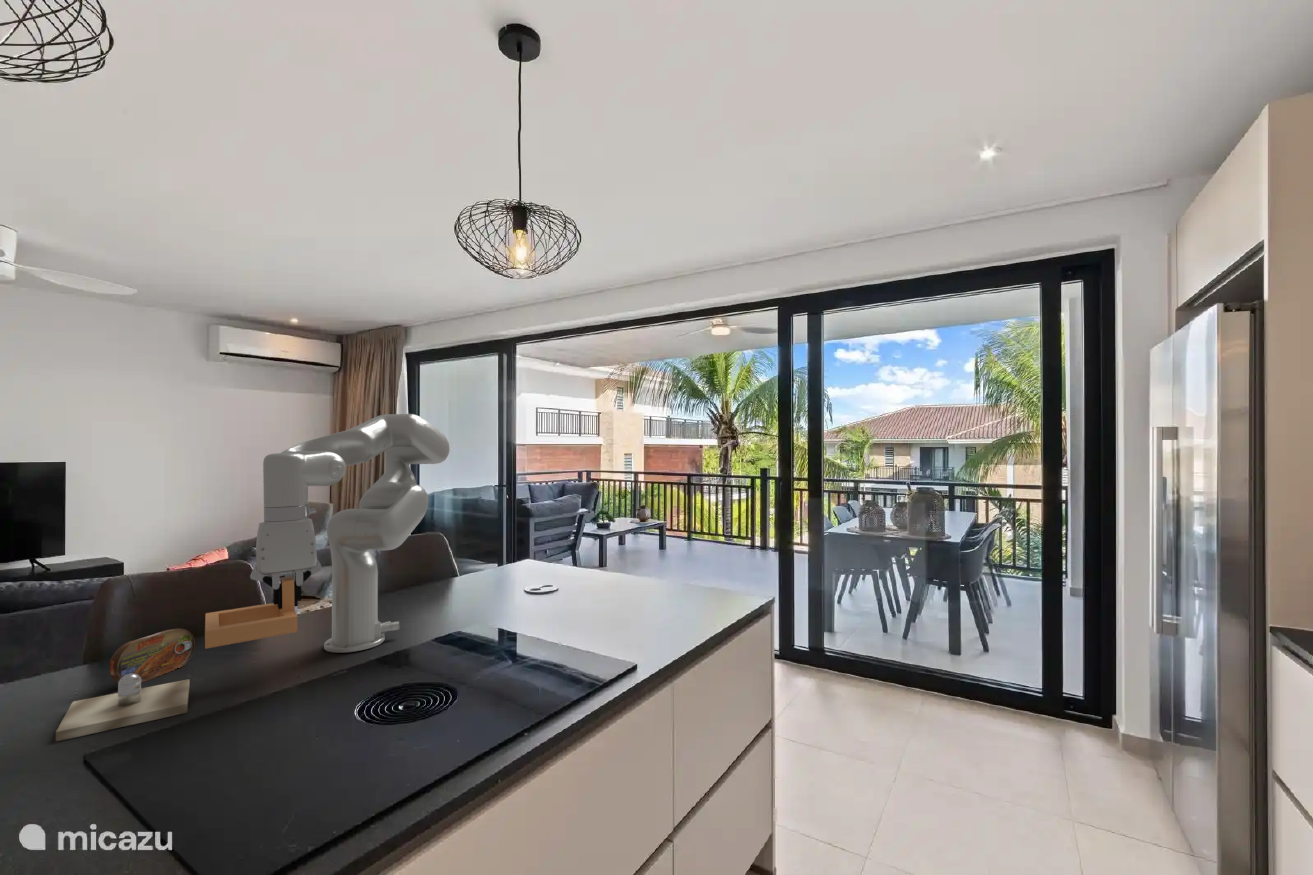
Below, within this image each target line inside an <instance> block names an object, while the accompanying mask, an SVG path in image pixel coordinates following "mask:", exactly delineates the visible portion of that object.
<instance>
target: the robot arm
mask: <svg viewBox="0 0 1313 875" xmlns="http://www.w3.org/2000/svg"><path fill="white" fill-rule="evenodd" d="M383 452H384V454H385V471H384V473H383V474H382V475H381V476H380V477H379V478H378V480H376V482H374V484H372V485H371V487H369V488H368V489H367V490H366V492H364V494H363V495H362V497H361V498H360V500H359V503H358V508H347V509H343V510H339V511H338V512H336V513H334V514H333V515H332V516H331V518H330V519H329V521H328V522H327V527H326V538H327V542H328V546H329V550H330V557H331V558H330V559H331V637H330V638H329V639H327V640H326V641H325V642H324V643H323V649H324V650H325V651H326V652H329V653H337V654H339V653H340V654H341V653H354V652H355V653H356V652H359V651H363V650H364V651H365V650H368V649H371V648H375V647H378V646H379V645H381V644H383V642H385V639H386V638H385V633H386V632H392V631H398V630H400V622H399V621H392V622H391V621H390V620H389V621H384V622H381V621H380V620H379V619H378V616H379V615H378V614H379V613H378V612H379V611H378V610H379V609H378V608H379V607H378V606H379V605H378V604H379V603H378V602H379V601H378V592H379V591H378V590H379V589H378V587H379V586H378V585H379V584H378V577H379V576H378V575H379V573H378V571H379V570H378V563H377V561H376V560H377V559H376V558H375V556H374V554H373V552H372V551H390V550H391V551H392V550H395V549H397V548H399V547H400V546H402V545H403V543H404V542H405V541H406V540H407V539H408V537H409V536H410V535H411V533H413V531H414V530H415V529H416V527H417V526H418V525H419V524H420V523H421V522H422V520H423V518H424V517H425V515H426V513H427V510H428V507H429V496H428V492H427V491H426V489H425V488H424V487H423V486H421V485H419V484H417V481H416V477H415V475H414V473H413V470H411V467H410V465H436V464H441V463H443V462H445V461H446V460H447V458H448V457H449V454H450V443H449V440H448V438H447V437H446V435H445V434H444V433H443V432H441V431H440V430H439V429H438V428H437V427H435V426H434V425H433V424H432V423H431V422H429V421H428V420H426V419H425V418H424V417H421V416H419V415H417V414H414V413H397V414H396V413H393V414H392V413H391V414H390V413H389V414H381V415H380V414H379V415H377V416H375V417H372V418H371V419H368V420H365V421H364V422H362V423H359V424H358V425H356V426H354V427H352V428H349V429H346V430H344V431H338V432H335V433H331V434H329V435H325V436H321V437H317V438H313V439H310V440H306V441H303V442H300V443H298V444H296V445H294V446H291V447H289V448H288V449H285V450H283V451H281V452H280V453H278V452H277V453H270V454H267V455H266V456H265V457H264V458H263V463H262V466H263V468H262V472H263V481H262V482H263V522H262V521H261V522H259V523H258V529H257V532H256V544H255V564H254V566H253V569H252V571H251V573H250V575H249V577H250V580H252V581H253V580H254V581H258V582H263V583H265V585H268V586H269V587H270V588H272V591H273V595H272V596H273V599H272V600H273V602H272V603H274V605H276V604H277V606H278V609H282V588H281V584H280V578H281V577H280V574H282V573H289V572H294V607H298V606H299V602H300V601H301V602H302V586H303V584H304V583H305V582H306V580H308V579H309V578H310V577H311V576H312V575H315V574H317V573H319V572H320V571H321V572H322V570H323V567H322V564H321V562H320V560H319V558H318V557H317V553H318V552H317V540H316V534H315V527H314V523H313V519H312V518H309V517H310V515H313V514H317V506H311V505H310V504H309V487H328V486H329V487H330V486H333V485H335V484H337V483H339V482H340V481H341V480H342V479H343V478H344V476H345V474H346V468H347V466H349V467H350V466H354V465H359V464H363V463H366V462H369V461H371V460H372V459H374V458H376V457H377V456H378V455H380V454H382V453H383Z"/></svg>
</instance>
